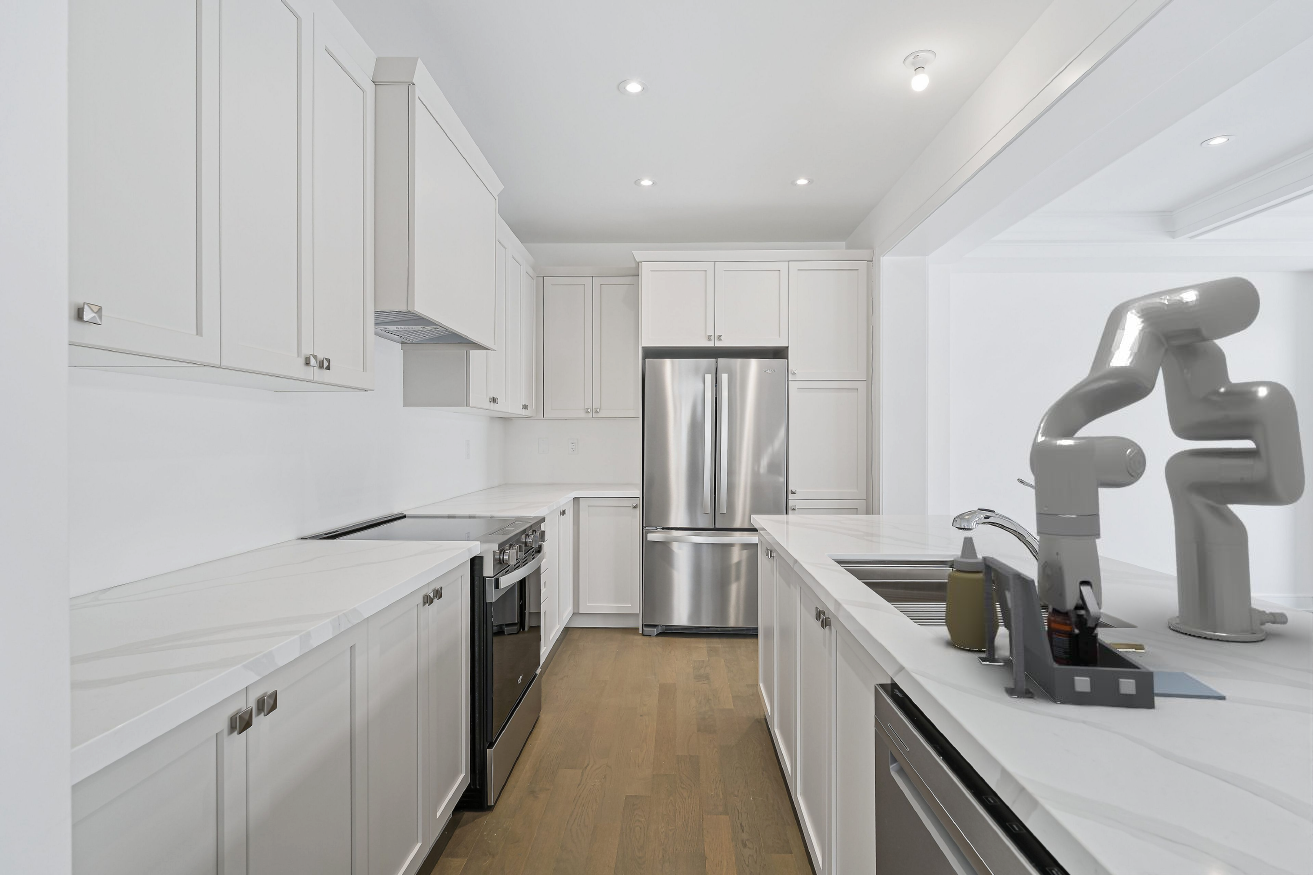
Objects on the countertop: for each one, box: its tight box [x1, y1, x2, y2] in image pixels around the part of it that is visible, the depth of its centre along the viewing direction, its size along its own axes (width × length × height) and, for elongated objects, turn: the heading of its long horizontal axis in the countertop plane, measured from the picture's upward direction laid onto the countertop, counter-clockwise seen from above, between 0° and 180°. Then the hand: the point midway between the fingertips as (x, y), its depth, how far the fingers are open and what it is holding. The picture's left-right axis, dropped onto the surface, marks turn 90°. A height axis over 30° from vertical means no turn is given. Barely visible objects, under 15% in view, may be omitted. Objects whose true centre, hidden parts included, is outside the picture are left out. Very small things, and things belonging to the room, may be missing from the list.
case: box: [1008, 629, 1156, 709], centre depth 88 cm, size 11×18×4 cm, turn 167°
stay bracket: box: [977, 555, 1036, 698], centre depth 90 cm, size 3×15×16 cm, turn 167°
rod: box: [1107, 642, 1146, 651], centre depth 101 cm, size 12×1×1 cm
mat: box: [1152, 670, 1227, 700], centre depth 86 cm, size 9×9×1 cm
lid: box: [990, 556, 1054, 666], centre depth 90 cm, size 11×18×1 cm
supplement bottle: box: [1046, 606, 1099, 667], centre depth 88 cm, size 6×6×11 cm
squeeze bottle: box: [944, 536, 1000, 651], centre depth 104 cm, size 8×8×18 cm
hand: (1073, 654), depth 88 cm, fingers closed on supplement bottle, 6 cm apart
